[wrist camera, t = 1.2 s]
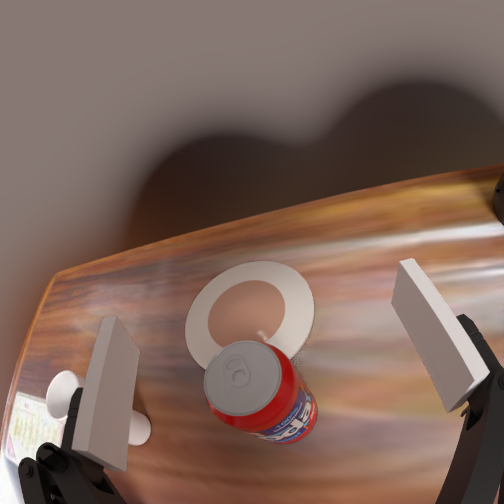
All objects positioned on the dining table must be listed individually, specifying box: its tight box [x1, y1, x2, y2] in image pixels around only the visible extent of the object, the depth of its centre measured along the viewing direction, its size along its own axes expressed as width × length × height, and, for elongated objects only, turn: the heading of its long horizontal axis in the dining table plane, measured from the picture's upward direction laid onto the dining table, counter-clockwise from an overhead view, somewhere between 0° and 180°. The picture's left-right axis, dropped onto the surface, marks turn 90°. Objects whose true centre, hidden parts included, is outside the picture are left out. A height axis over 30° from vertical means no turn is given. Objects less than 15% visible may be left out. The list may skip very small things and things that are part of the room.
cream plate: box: [185, 261, 315, 370], centre depth 44 cm, size 20×20×1 cm
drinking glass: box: [46, 370, 151, 446], centre depth 31 cm, size 7×7×15 cm
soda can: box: [204, 341, 318, 444], centre depth 27 cm, size 8×8×15 cm
